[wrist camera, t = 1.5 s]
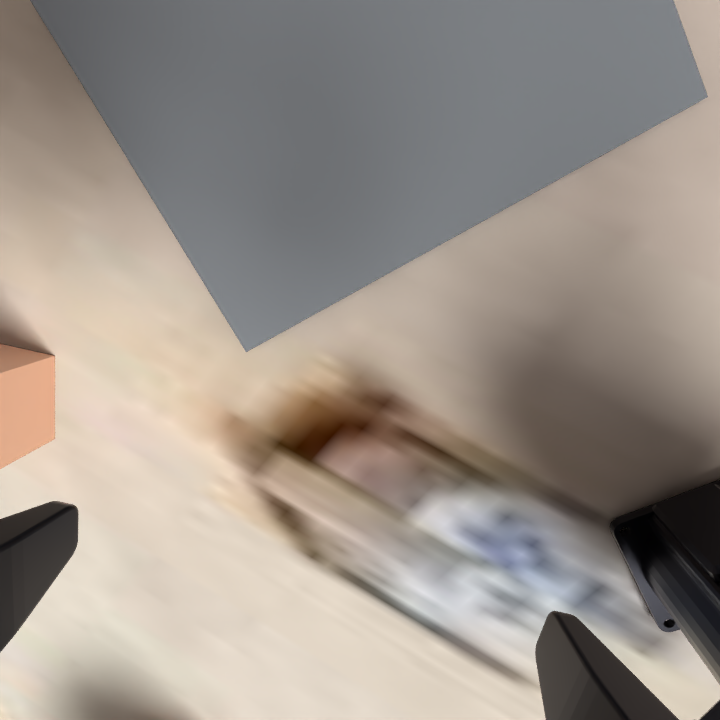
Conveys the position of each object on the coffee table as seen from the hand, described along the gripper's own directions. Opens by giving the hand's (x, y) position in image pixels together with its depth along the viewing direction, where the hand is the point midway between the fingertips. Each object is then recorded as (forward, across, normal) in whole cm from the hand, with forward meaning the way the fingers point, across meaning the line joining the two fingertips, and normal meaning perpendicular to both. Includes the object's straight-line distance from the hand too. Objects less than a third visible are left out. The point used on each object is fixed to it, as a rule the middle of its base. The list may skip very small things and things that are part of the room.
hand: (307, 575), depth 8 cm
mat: (+12, +3, -13) cm, 18 cm away
